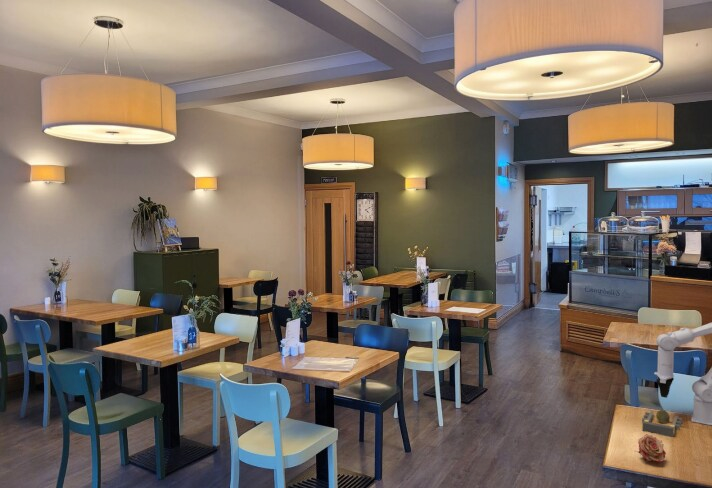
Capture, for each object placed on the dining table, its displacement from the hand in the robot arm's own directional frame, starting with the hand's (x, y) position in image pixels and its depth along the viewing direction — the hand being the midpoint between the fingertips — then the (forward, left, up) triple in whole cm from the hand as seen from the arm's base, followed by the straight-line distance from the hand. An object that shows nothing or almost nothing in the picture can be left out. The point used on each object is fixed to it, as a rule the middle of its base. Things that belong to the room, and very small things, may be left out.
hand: (664, 395), depth 224 cm
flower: (-1, +46, -10) cm, 48 cm away
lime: (0, +5, -10) cm, 11 cm away
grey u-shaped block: (0, +9, -9) cm, 13 cm away
